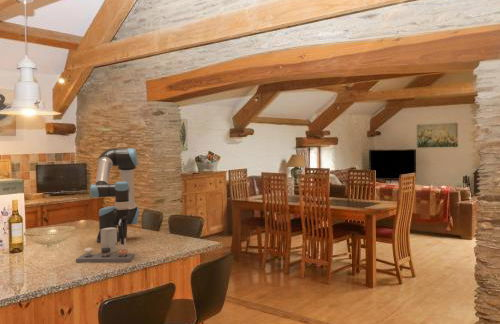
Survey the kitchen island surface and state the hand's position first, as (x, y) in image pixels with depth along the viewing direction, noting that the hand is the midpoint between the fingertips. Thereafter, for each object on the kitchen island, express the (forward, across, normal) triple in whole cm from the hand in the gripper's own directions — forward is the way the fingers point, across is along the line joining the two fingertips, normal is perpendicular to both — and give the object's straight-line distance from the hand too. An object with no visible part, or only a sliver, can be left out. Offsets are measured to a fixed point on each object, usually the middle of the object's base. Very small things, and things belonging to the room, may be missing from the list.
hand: (123, 249), depth 262 cm
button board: (+6, 0, -10) cm, 12 cm away
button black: (+4, 0, -10) cm, 11 cm away
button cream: (+4, 0, -20) cm, 20 cm away
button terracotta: (+5, 0, 0) cm, 5 cm away
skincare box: (+6, -18, -14) cm, 24 cm away
